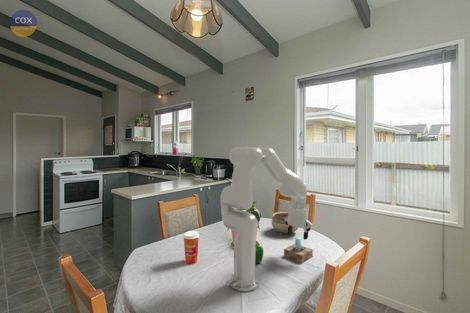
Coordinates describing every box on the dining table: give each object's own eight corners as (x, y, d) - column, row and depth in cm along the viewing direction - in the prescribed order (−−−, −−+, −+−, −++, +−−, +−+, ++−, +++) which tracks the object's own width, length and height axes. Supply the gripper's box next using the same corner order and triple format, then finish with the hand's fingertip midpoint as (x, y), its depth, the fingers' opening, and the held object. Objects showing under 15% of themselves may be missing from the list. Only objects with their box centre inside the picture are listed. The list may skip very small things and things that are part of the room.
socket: (301, 263, 124) (301, 255, 124) (283, 256, 132) (284, 249, 132) (312, 256, 131) (312, 249, 131) (295, 250, 139) (295, 243, 139)
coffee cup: (180, 263, 123) (179, 235, 122) (188, 256, 131) (188, 229, 130) (194, 266, 120) (194, 237, 120) (202, 259, 128) (202, 231, 127)
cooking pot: (263, 229, 175) (264, 212, 174) (284, 225, 183) (284, 209, 182) (285, 241, 152) (285, 222, 152) (308, 236, 161) (308, 218, 160)
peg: (299, 258, 129) (299, 240, 129) (294, 256, 132) (294, 238, 131) (302, 256, 131) (302, 238, 131) (297, 254, 134) (297, 236, 133)
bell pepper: (243, 262, 125) (243, 243, 124) (253, 256, 131) (253, 238, 131) (257, 267, 119) (257, 247, 119) (266, 261, 126) (266, 242, 125)
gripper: (281, 203, 134) (280, 233, 134) (309, 209, 121) (308, 242, 122) (289, 201, 139) (288, 230, 139) (316, 207, 126) (315, 239, 127)
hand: (297, 236), depth 130 cm, fingers open, 9 cm apart
